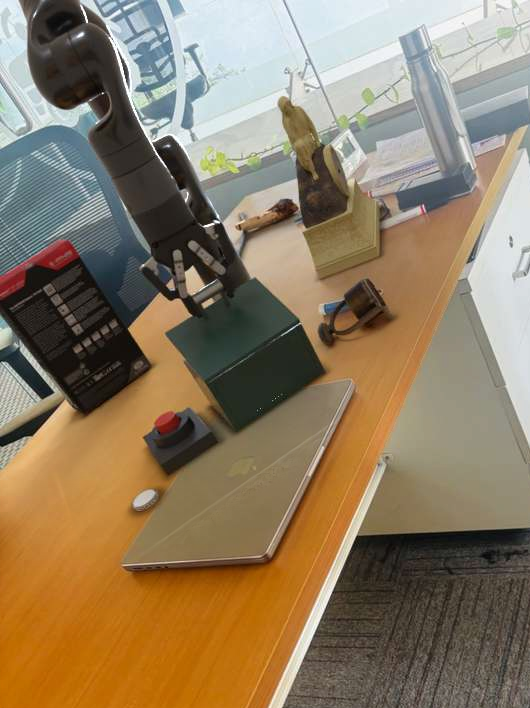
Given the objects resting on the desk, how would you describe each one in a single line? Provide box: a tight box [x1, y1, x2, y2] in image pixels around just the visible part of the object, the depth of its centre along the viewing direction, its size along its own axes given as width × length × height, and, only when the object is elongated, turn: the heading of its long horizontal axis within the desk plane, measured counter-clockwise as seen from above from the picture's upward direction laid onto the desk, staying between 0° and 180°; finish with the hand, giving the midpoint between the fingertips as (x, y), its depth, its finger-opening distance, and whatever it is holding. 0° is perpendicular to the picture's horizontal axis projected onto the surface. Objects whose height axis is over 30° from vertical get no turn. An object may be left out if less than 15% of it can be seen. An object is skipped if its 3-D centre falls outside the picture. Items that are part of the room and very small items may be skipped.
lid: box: [164, 276, 301, 384], centre depth 102 cm, size 14×17×5 cm
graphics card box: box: [0, 238, 152, 415], centre depth 128 cm, size 17×7×27 cm, turn 135°
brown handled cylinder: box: [317, 277, 392, 345], centre depth 113 cm, size 7×13×10 cm
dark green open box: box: [182, 322, 326, 432], centre depth 108 cm, size 13×17×9 cm
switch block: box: [142, 406, 219, 476], centre depth 107 cm, size 12×9×4 cm
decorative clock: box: [277, 95, 381, 280], centre depth 137 cm, size 28×13×30 cm, turn 179°
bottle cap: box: [131, 488, 160, 512], centre depth 99 cm, size 4×4×1 cm
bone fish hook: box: [234, 198, 300, 232], centre depth 180 cm, size 9×5×18 cm
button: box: [153, 410, 181, 434], centre depth 105 cm, size 4×4×2 cm
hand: (215, 306), depth 104 cm, fingers closed on lid, 5 cm apart
